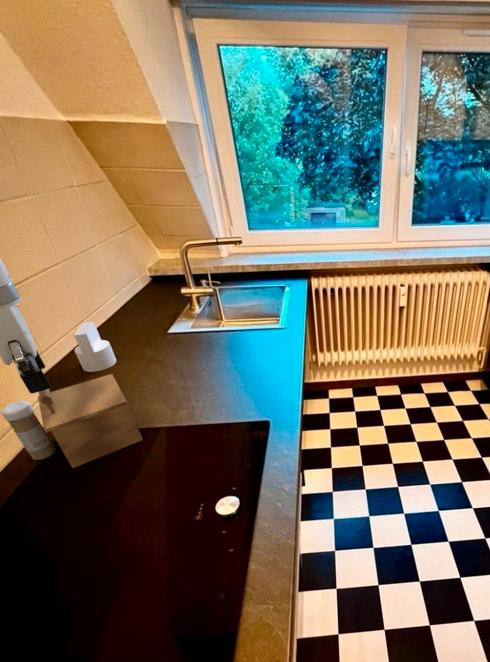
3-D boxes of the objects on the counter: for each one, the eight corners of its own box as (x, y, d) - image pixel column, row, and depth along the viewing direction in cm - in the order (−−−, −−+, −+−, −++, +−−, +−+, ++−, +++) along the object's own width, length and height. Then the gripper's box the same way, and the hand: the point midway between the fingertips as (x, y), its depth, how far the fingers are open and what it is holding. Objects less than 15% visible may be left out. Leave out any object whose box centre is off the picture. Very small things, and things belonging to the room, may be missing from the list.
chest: (74, 471, 80) (51, 431, 74) (64, 435, 90) (43, 397, 84) (144, 443, 87) (128, 404, 82) (128, 413, 97) (113, 376, 91)
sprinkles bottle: (56, 446, 87) (28, 397, 79) (59, 457, 84) (29, 407, 76) (31, 455, 84) (-1, 405, 77) (33, 466, 81) (0, 416, 74)
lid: (46, 432, 74) (33, 412, 71) (39, 399, 83) (28, 379, 81) (127, 404, 82) (119, 384, 79) (113, 376, 91) (105, 358, 88)
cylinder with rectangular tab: (87, 359, 120) (71, 324, 114) (119, 355, 122) (105, 320, 116) (78, 373, 113) (61, 337, 107) (113, 369, 115) (97, 332, 109)
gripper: (-36, 288, 70) (12, 369, 79) (-40, 317, 59) (17, 407, 68) (15, 279, 74) (56, 357, 83) (20, 304, 63) (67, 391, 72)
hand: (38, 379), depth 76 cm, fingers open, 9 cm apart
